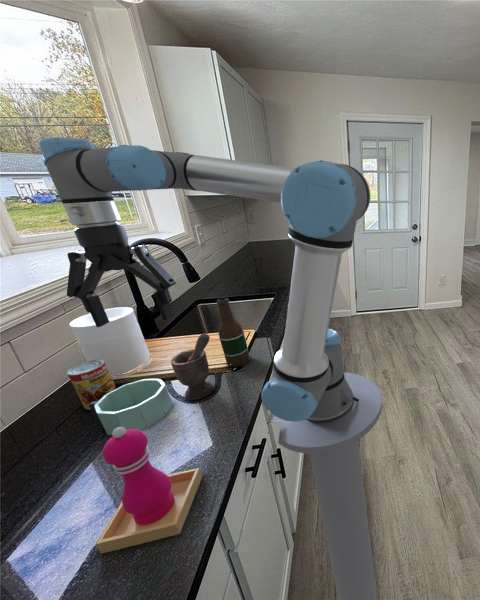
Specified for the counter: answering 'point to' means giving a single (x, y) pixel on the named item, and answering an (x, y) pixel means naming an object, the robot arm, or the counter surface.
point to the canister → (113, 341)
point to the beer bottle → (232, 336)
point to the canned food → (91, 381)
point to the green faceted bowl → (119, 404)
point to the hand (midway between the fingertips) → (136, 321)
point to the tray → (129, 533)
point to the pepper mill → (138, 476)
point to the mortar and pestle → (193, 369)
